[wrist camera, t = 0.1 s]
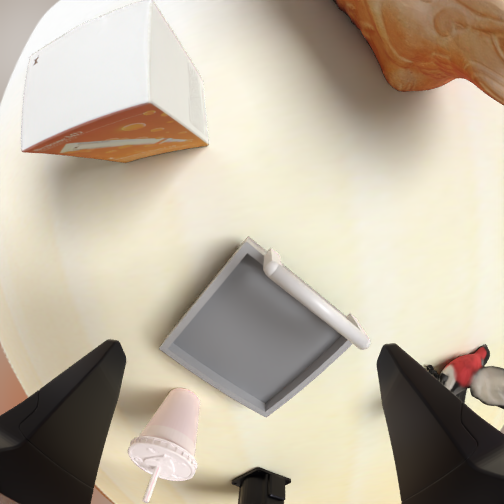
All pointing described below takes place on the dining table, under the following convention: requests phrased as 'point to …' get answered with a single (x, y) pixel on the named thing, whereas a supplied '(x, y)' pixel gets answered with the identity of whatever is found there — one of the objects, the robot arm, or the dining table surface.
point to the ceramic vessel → (434, 41)
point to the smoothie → (169, 440)
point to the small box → (114, 90)
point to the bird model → (473, 378)
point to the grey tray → (261, 331)
